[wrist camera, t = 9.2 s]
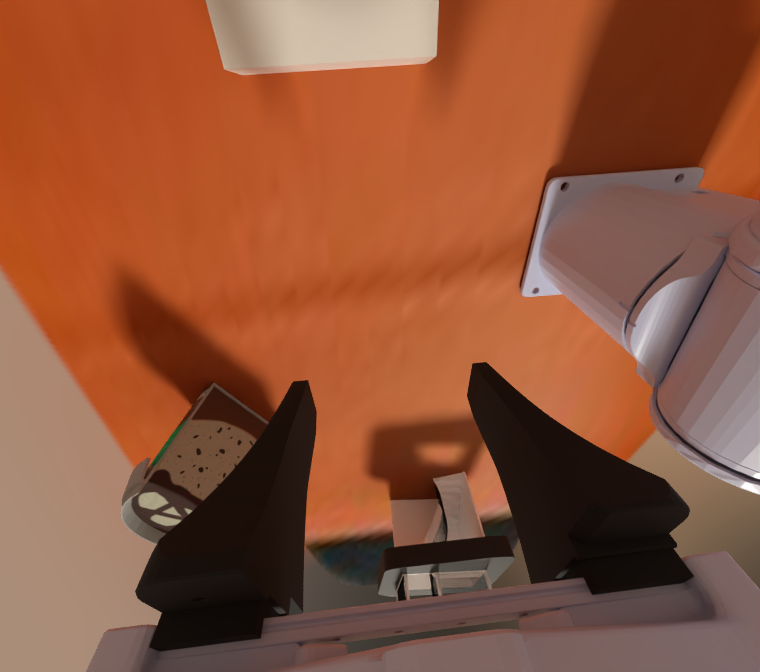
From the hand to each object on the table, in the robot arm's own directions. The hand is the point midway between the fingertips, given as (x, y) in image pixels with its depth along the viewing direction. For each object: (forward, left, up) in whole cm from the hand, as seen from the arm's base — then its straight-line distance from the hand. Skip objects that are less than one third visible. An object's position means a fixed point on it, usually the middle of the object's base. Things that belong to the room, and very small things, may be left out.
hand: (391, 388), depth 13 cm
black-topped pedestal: (-4, +30, -11) cm, 32 cm away
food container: (+15, +14, -11) cm, 23 cm away
